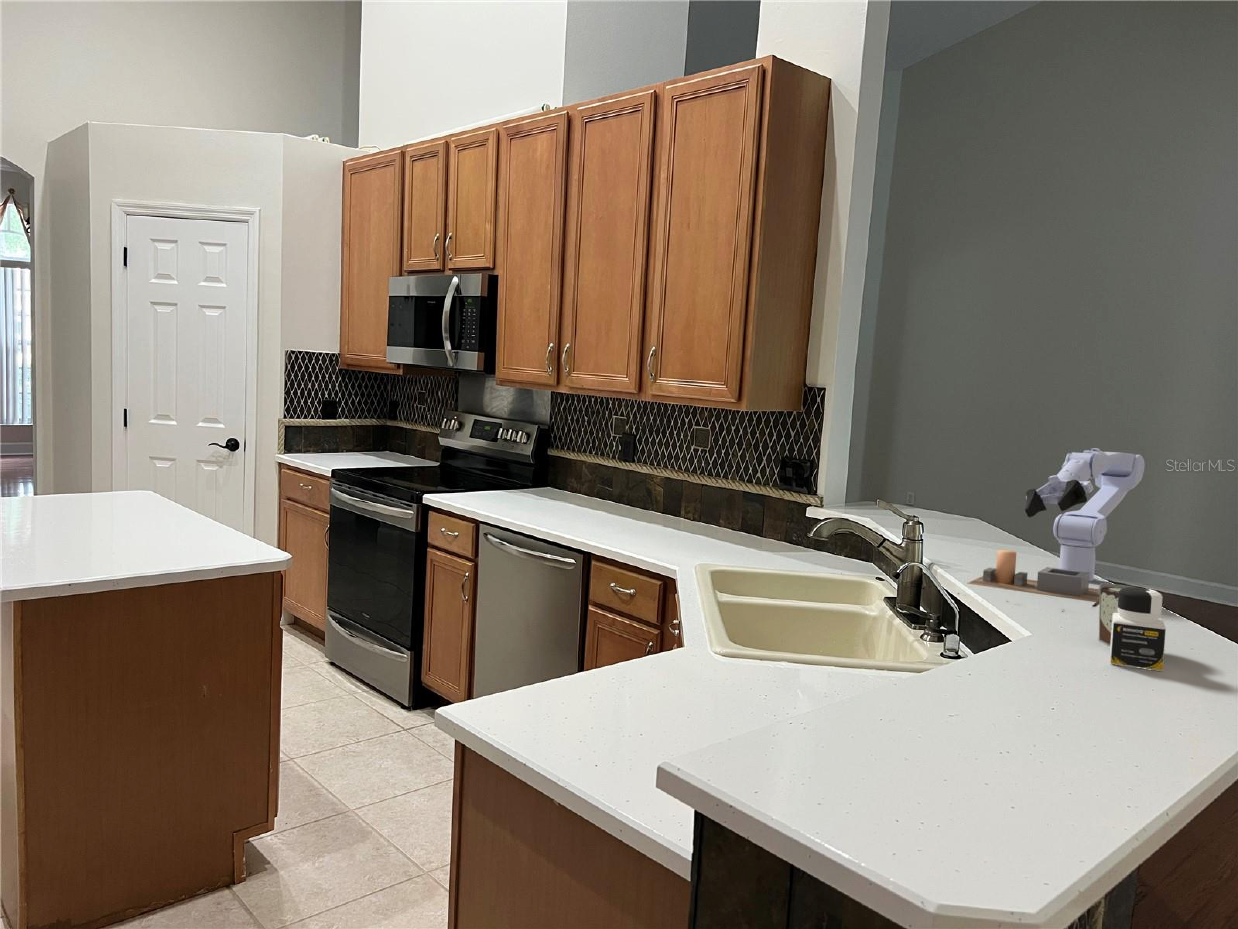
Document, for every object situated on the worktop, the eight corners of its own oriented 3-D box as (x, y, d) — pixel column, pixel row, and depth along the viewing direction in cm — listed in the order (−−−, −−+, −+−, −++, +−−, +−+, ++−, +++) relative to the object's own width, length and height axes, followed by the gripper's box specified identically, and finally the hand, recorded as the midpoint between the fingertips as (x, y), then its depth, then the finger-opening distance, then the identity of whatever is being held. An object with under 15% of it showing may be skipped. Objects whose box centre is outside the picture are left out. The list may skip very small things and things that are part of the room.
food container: (1170, 659, 148) (1175, 599, 147) (1132, 658, 148) (1137, 597, 147) (1129, 639, 160) (1133, 583, 159) (1094, 638, 160) (1098, 582, 160)
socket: (1045, 584, 204) (1047, 567, 204) (1088, 590, 199) (1089, 572, 198) (1036, 590, 197) (1037, 572, 197) (1080, 596, 192) (1081, 577, 192)
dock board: (987, 578, 215) (988, 563, 215) (1109, 595, 200) (1111, 579, 199) (966, 587, 203) (967, 572, 202) (1096, 606, 187) (1097, 590, 187)
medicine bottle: (1110, 665, 143) (1115, 590, 143) (1109, 654, 150) (1114, 582, 149) (1162, 672, 140) (1168, 596, 139) (1159, 661, 146) (1165, 588, 146)
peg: (998, 579, 208) (999, 549, 208) (1016, 582, 206) (1018, 551, 205) (993, 582, 205) (995, 551, 204) (1011, 584, 202) (1013, 553, 202)
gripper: (1030, 474, 211) (1006, 500, 203) (1091, 459, 200) (1068, 487, 192) (1043, 500, 212) (1019, 527, 204) (1105, 487, 200) (1082, 516, 192)
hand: (1044, 510), depth 198 cm, fingers open, 7 cm apart
